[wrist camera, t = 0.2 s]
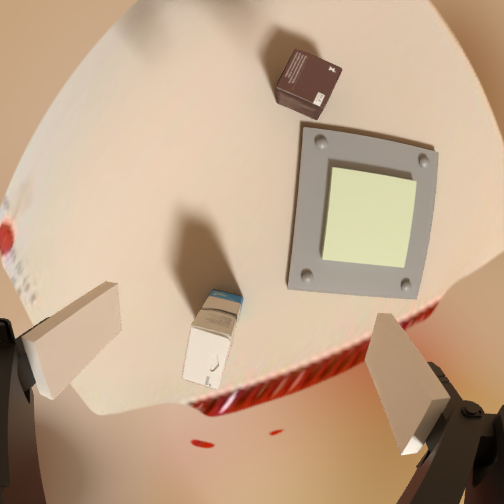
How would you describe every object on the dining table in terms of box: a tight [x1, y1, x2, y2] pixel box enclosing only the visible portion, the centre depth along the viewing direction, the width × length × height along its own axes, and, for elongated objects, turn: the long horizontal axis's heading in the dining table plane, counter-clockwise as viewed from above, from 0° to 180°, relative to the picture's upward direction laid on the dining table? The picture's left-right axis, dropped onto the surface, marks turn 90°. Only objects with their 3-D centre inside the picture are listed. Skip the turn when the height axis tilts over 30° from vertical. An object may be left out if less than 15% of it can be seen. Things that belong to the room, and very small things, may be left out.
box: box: [276, 49, 342, 120], centre depth 32 cm, size 6×6×7 cm
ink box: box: [182, 290, 243, 390], centre depth 38 cm, size 8×5×12 cm, turn 166°
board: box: [287, 127, 439, 300], centre depth 37 cm, size 22×20×2 cm
